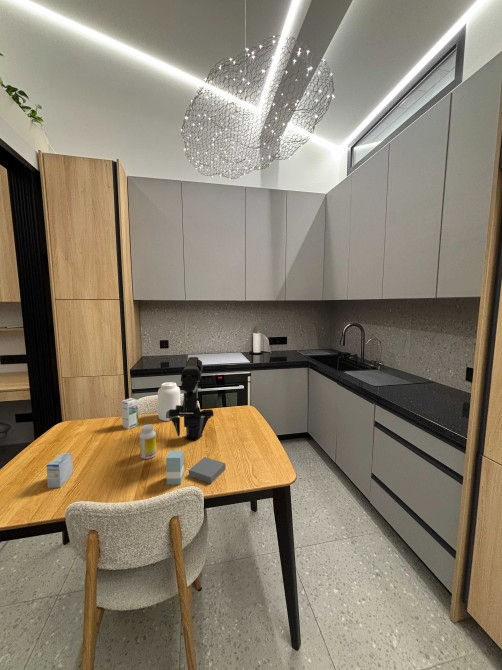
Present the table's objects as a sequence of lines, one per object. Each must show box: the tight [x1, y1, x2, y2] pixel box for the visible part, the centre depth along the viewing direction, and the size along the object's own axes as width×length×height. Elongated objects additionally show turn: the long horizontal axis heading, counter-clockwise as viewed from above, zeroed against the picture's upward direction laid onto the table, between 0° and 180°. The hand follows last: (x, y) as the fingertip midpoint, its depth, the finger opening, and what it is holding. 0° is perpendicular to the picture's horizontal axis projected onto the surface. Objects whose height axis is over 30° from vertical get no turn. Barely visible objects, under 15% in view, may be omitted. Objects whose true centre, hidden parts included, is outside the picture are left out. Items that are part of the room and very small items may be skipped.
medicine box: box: [46, 452, 74, 489], centre depth 99 cm, size 8×4×9 cm, turn 5°
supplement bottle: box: [138, 423, 157, 460], centre depth 116 cm, size 7×7×13 cm
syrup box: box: [121, 397, 139, 430], centre depth 145 cm, size 6×6×14 cm
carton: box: [165, 450, 185, 485], centre depth 100 cm, size 5×5×10 cm
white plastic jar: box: [157, 381, 181, 422], centre depth 157 cm, size 12×12×20 cm
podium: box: [188, 456, 227, 484], centre depth 105 cm, size 10×10×2 cm
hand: (189, 435), depth 110 cm, fingers open, 9 cm apart
